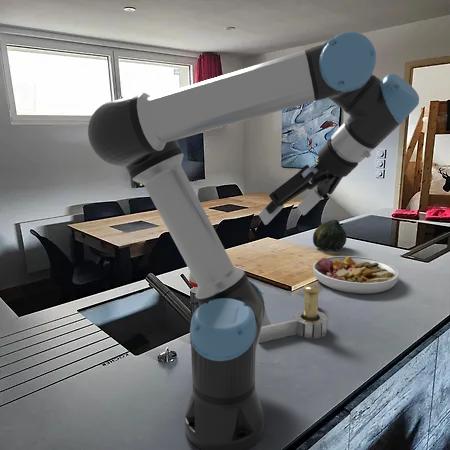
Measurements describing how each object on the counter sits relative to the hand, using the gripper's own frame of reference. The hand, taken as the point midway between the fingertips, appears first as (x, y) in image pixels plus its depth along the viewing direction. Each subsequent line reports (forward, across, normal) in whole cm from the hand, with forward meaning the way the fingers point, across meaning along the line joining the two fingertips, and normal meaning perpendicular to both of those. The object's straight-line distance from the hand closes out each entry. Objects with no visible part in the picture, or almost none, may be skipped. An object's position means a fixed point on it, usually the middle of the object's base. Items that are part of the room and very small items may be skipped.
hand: (282, 215), depth 91 cm
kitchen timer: (+61, +19, +10) cm, 65 cm away
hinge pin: (+27, +16, -24) cm, 39 cm away
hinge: (+30, +16, -20) cm, 40 cm away
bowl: (+35, +59, -16) cm, 71 cm away
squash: (+55, +87, +4) cm, 104 cm away
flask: (+36, +8, -15) cm, 40 cm away
